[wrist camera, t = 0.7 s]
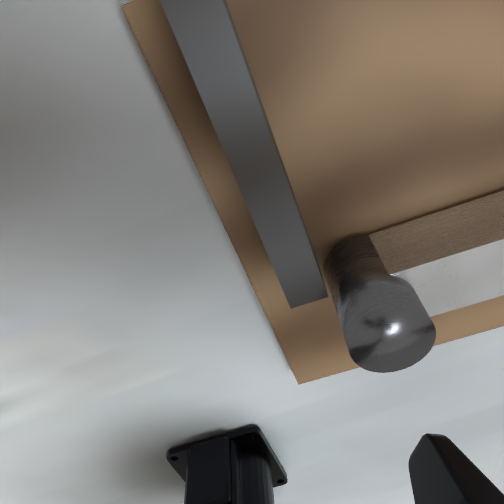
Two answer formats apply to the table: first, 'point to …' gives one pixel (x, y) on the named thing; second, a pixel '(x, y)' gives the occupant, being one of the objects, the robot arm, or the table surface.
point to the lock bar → (415, 280)
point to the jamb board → (331, 135)
